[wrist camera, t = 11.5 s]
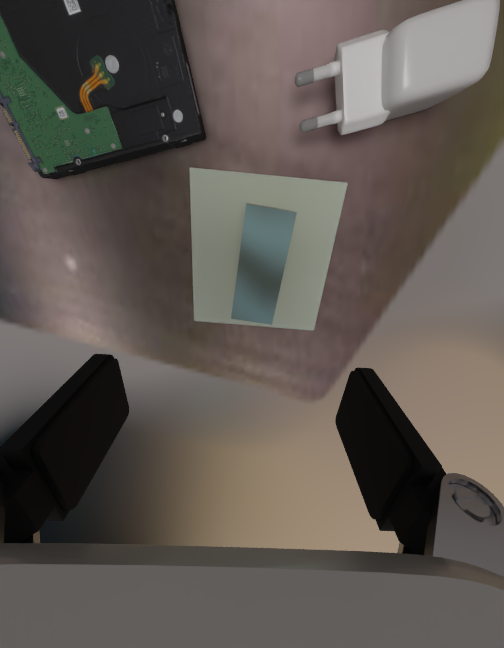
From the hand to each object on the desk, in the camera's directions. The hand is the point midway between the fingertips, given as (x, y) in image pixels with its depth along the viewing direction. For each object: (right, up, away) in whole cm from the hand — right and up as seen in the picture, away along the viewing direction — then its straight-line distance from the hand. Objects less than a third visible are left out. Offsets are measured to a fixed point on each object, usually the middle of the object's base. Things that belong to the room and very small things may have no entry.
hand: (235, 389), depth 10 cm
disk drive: (-11, +22, +10) cm, 27 cm away
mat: (+2, +9, +15) cm, 18 cm away
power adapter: (+9, +21, +9) cm, 25 cm away
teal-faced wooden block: (+2, +9, +15) cm, 17 cm away
